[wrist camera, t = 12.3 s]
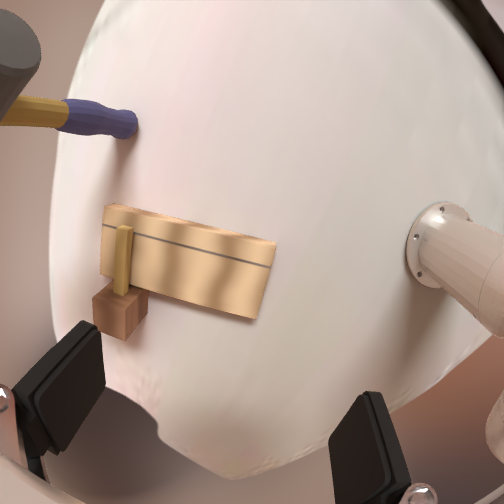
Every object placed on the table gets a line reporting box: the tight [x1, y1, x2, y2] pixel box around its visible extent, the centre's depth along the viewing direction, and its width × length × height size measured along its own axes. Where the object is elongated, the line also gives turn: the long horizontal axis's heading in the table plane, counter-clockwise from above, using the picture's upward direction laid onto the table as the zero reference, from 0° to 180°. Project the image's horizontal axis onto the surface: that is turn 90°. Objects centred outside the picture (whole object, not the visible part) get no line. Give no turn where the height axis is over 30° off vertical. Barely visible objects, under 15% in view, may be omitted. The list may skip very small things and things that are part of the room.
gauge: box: [92, 225, 149, 341], centre depth 35 cm, size 5×14×8 cm, turn 167°
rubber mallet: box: [0, 9, 138, 139], centre depth 19 cm, size 12×8×30 cm, turn 117°
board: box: [100, 203, 276, 319], centre depth 37 cm, size 23×10×3 cm, turn 77°
